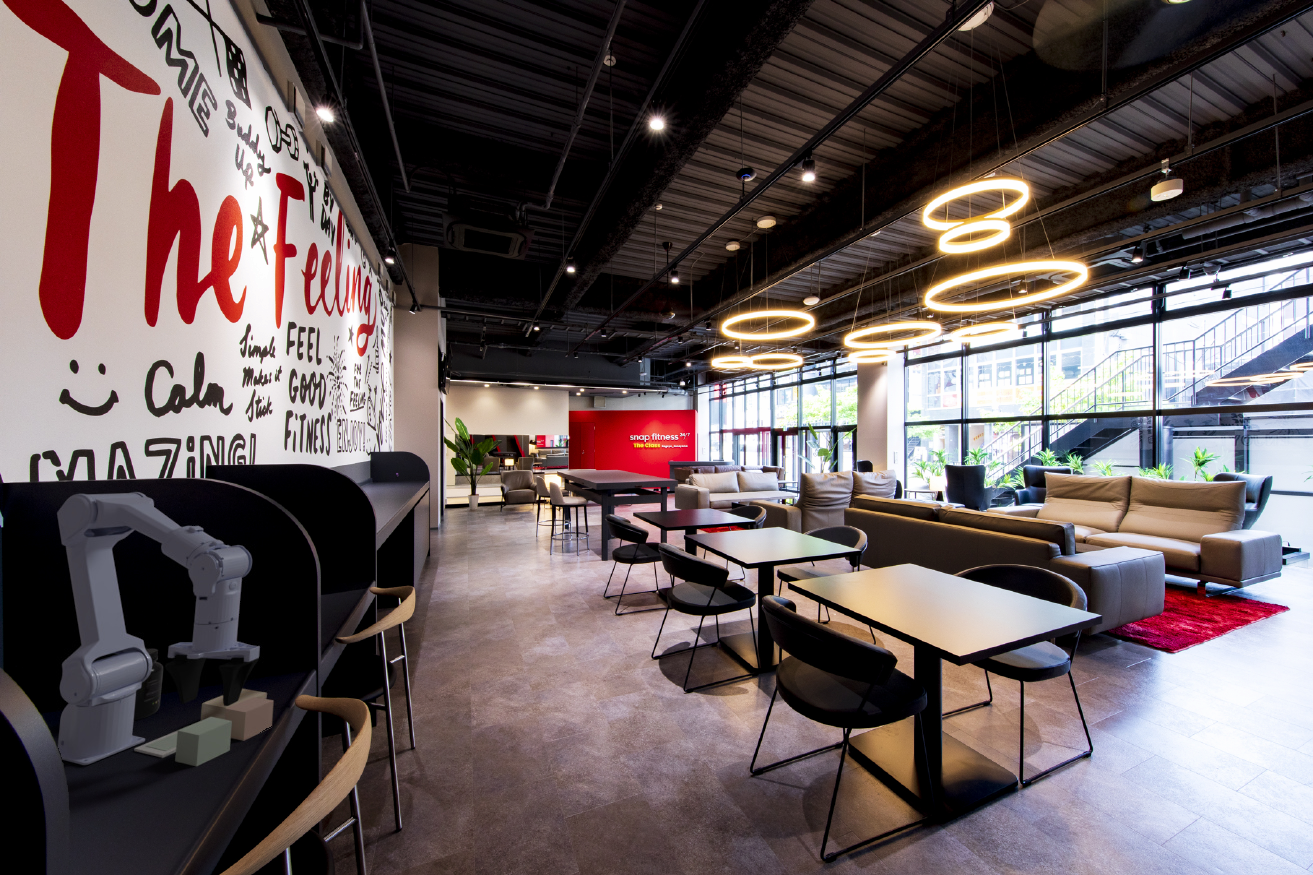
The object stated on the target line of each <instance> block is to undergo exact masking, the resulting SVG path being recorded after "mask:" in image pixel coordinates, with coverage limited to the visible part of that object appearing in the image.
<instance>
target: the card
mask: <svg viewBox="0 0 1313 875" xmlns="http://www.w3.org/2000/svg"><path fill="white" fill-rule="evenodd" d="M177 733H178V730H176V731H173V732H171V733H168V734H167V735H163V736H161V737H159V738H155V739H154V740H150V741H149V742H146V743H145V744H142V745H140V746H136V747H134V752H136V753H137V752H138V753H142V754H145V755H151V756H153V757H154V756H155V757H158V758H161V759H163V758H165V757H168V756H170V755H172V754H175V753H176V745H177Z"/></svg>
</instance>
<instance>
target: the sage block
mask: <svg viewBox="0 0 1313 875" xmlns="http://www.w3.org/2000/svg"><path fill="white" fill-rule="evenodd" d="M231 727H232V721H229V720H225V719H220V718H215V717H209V718H207V719H204V720H202V721H201V720H200V721H198V722H195V723H192V724H191V725H187V726H184V727H183V728H180V729H178V730H177V731H178V733H177V745H176V752H175V756H174V758H175V759H174V761H175V762H176V763H180V764H185V765H189V766H194V767H198V766H200V765H202V764H204V763H206V762H208V761H211V760H213V759H215V758H217V757H219V756H221V755H223V754H225V753H227V752H229V751H230V750H231V739H232V738H231Z"/></svg>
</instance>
